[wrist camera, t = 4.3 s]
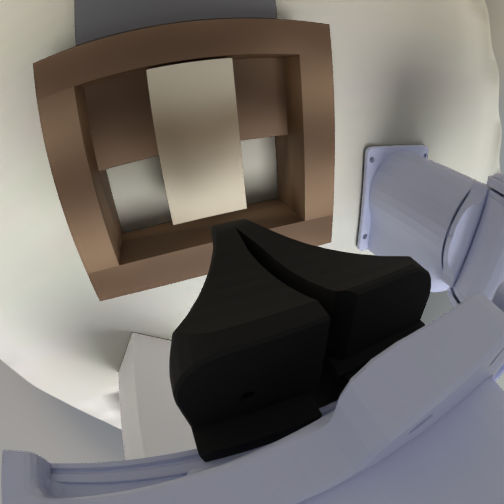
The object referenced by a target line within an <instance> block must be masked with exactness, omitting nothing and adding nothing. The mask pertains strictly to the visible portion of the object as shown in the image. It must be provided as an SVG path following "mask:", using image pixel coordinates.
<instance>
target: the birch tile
mask: <svg viewBox="0 0 504 504" xmlns="http://www.w3.org/2000/svg"><path fill="white" fill-rule="evenodd" d="M146 72H147V80H148V88H149V96H150V103H151V110H152V116H153V123H154V129H155V135H156V141H157V147H158V152H159V158H160V163H161V169H162V174H163V179H164V184H165V189H166V194H167V199H168V203H169V208H170V213H171V217H172V222H173V225H176V224H180V223H185V222H189V221H193V220H197V219H202V218H206V217H210V216H215V215H219V214H224V213H228V212H233V211H237V210H242V209H246V208H247V206H246V196H245V186H244V175H243V165H242V155H241V145H240V134H239V124H238V114H237V103H236V93H235V83H234V72H233V62H232V58H223V59H212V60H203V61H195V62H187V63H180V64H174V65H168V66H163V67H157V68H152V69H147V70H146Z"/></svg>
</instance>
